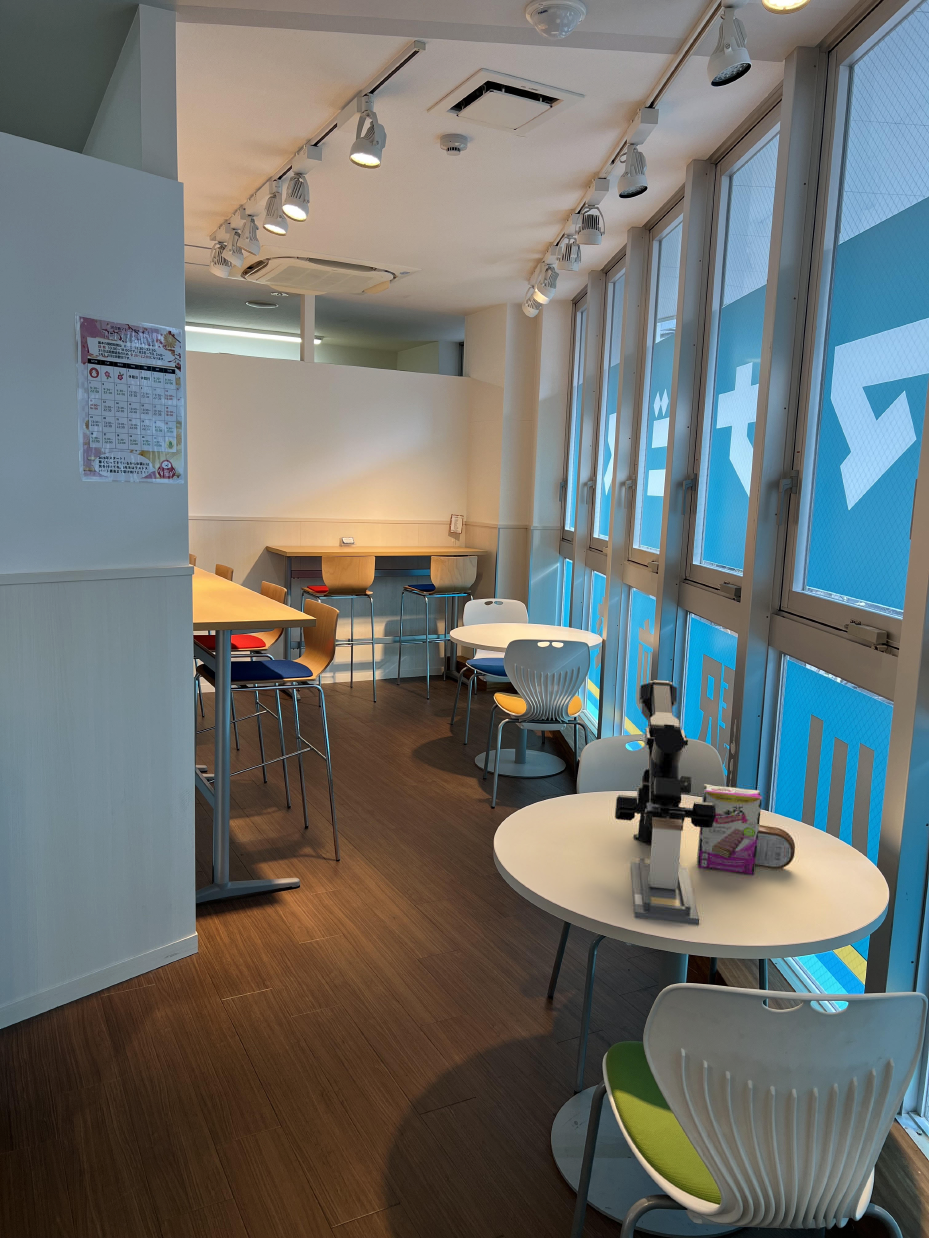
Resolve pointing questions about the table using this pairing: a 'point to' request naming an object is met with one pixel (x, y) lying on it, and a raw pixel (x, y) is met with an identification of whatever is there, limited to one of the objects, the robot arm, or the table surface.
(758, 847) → the tin
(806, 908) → the table surface
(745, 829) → the candy bar box
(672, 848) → the switch tab
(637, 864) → the switch housing
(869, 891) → the table surface
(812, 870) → the table surface
